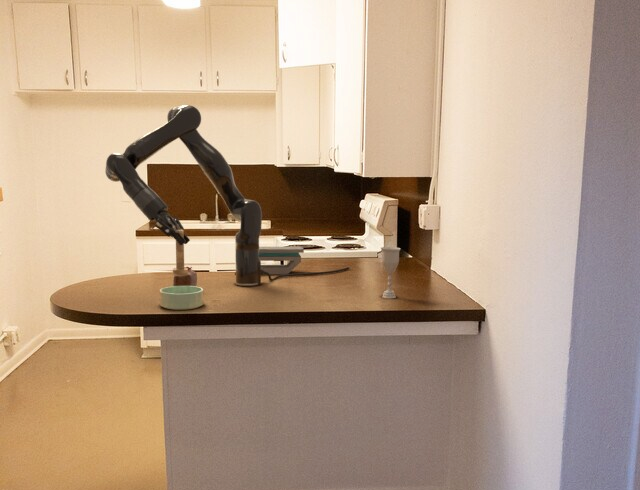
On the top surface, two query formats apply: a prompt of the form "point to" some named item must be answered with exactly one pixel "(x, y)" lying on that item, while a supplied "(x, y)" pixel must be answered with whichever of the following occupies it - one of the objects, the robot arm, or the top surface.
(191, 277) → the food item
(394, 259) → the chalice
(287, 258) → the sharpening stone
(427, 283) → the top surface
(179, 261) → the wooden bolt
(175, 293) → the bowl
